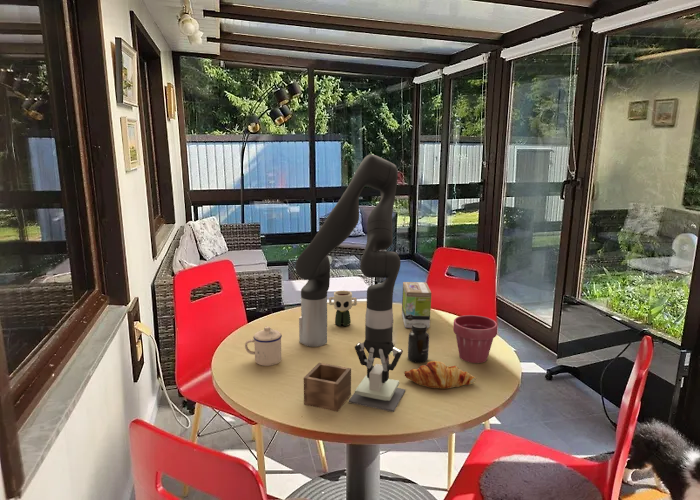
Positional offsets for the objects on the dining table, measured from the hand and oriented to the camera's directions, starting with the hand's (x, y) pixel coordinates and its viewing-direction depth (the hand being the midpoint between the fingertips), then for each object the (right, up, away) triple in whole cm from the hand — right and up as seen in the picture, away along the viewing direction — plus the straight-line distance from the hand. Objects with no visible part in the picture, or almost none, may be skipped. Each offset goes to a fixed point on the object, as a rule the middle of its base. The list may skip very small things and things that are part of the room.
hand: (377, 380), depth 135 cm
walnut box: (-14, -5, -1) cm, 15 cm away
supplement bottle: (+15, 0, +25) cm, 29 cm away
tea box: (+19, +7, +60) cm, 63 cm away
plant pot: (+34, 0, +27) cm, 43 cm away
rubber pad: (0, -5, +1) cm, 5 cm away
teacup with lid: (-36, 0, +23) cm, 43 cm away
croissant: (+19, -4, +9) cm, 22 cm away
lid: (0, -4, +1) cm, 4 cm away
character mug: (-11, +7, +56) cm, 57 cm away
